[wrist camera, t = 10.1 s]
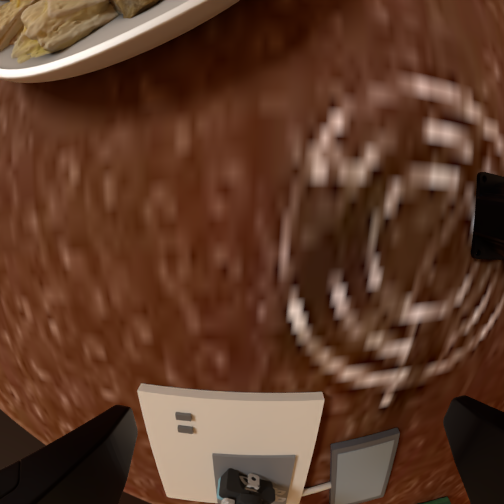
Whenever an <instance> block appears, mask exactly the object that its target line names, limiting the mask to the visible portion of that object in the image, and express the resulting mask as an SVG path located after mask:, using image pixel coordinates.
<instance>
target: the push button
mask: <svg viewBox="0 0 504 504" xmlns="http://www.w3.org/2000/svg"><path fill="white" fill-rule="evenodd" d="M277 492H281V493H277ZM284 493H286V491H282V490H278V489H277V488H273V484H272V482H270V481H266V480H262V479H259V476H258V475H254V474H251V473H250V474H248V476H247V475H244V474H241V473H238V471H237V470H235V469H232V468H229V469H228V470H227V471H226V472H225V473H224V474H223V475H222V476H221V477H220V478H219V480H218V488H217V498H218V499H219V500H222V502H221V504H271V503H273V502H274V501H278V502H284V501H285V500H286V498H282V497H277V495H283V494H284ZM275 494H277V495H275ZM278 499H282V500H278Z"/></svg>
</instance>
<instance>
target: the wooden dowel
mask: <svg viewBox="0 0 504 504" xmlns="http://www.w3.org/2000/svg"><path fill="white" fill-rule="evenodd" d="M330 488H331V482H327V483H324V484H320V485H317V486H314V487H310V488H307V489H303V492H302V496H306V495H310V494H313V493H317V492H320V491H323V490H327V489H330ZM302 496H301V497H302Z"/></svg>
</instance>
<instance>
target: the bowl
mask: <svg viewBox="0 0 504 504" xmlns="http://www.w3.org/2000/svg"><path fill="white" fill-rule="evenodd" d="M238 1H240V0H0V79H2V80H6V81H10V82H18V83H40V82H49V81H56V80H62V79H67V78H71V77H75V76H79V75H83V74H86V73H90V72H94V71H97V70H100V69H103V68H106V67H109V66H111V65H114V64H117V63H120V62H122V61H125V60H127V59H130V58H132V57H135V56H137V55H139V54H141V53H144V52H146V51H149V50H151V49H153V48H155V47H157V46H159V45H162V44H164V43H166V42H168V41H170V40H172V39H174V38H176V37H178V36H180V35H182V34H184V33H186V32H188V31H190V30H191V29H193V28H195V27H197V26H199V25H201V24H202V23H204V22H206V21H208V20H209V19H211V18H213V17H214V16H216V15H218V14H219V13H221V12H223V11H224V10H226V9H228V8H229V7H231V6H232V5H234V4H235V3H237V2H238Z"/></svg>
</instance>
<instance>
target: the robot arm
mask: <svg viewBox="0 0 504 504" xmlns="http://www.w3.org/2000/svg"><path fill="white" fill-rule="evenodd" d="M482 177H483V179H484V180H482ZM477 250H478V252H477V254H476V251H477ZM471 255H472V257H473V258H476V259H495V260H504V177H502V176H498V175H494V174H490V173H486V172H479V173H478V175H477V191H476V209H475V221H474V231H473V240H472V248H471ZM443 423H444V428H445V431H446V434H447V437H448V440H449V444H450V447H451V450H452V454H453V457H454V460H455V463H456V466H457V469H458V471H459V474H460V476H461V479H462V481H463V484H464V487H465V489H466V492H467V494H468V497H469V500H470V503H471V504H504V412H502V411H499V410H497V409H495V408H493V407H490V406H488V405H486V404H484V403H481V402H479V401H477V400H475V399H472V398H470V397H468V396H465V395H464V396H459V397H456V398H454V399H453V400H452V401H451V404H450V406H449V408H448V410H447V413H446V415H445V417H444V422H443ZM136 438H137V426H136V422H135V419H134V415H133V411H132V409H131V408H130V407H128V406H122V405H115V406H113V407H111V408H110V409H108V410H106V411H105V412H103V413H101V414H100V415H98V416H97V417H95V418H93V419H92V420H90V421H88V422H86V423H85V424H83V425H81V426H80V427H78V428H76V429H75V430H73V431H71V432H69V433H68V434H66V435H64V436H62V437H61V438H59V439H57V440H55V441H54V442H52V443H50V444H48V445H47V446H45V447H43V448H41V449H39V450H38V451H36V452H34V453H32V454H30V455H28V456H26V457H25V458H23V459H21V461H17V462H15V463H13V464H11V465H9V466H7V467H5V468H3V469H1V470H0V504H118V503H119V500H120V498H121V495H122V492H123V489H124V487H125V484H126V481H127V477H128V473H129V468H130V464H131V459H132V455H133V451H134V446H135V442H136Z"/></svg>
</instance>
